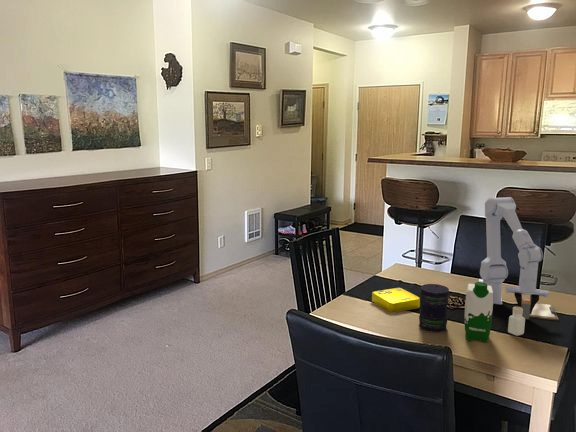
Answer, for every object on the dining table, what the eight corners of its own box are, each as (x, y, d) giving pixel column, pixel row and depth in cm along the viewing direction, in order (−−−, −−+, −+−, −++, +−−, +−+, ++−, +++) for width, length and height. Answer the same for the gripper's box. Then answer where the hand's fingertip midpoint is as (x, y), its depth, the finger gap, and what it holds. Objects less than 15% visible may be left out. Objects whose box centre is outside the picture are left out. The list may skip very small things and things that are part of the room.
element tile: (390, 314, 187) (391, 302, 187) (370, 301, 201) (370, 290, 200) (421, 308, 193) (422, 297, 192) (399, 296, 207) (400, 286, 206)
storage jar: (442, 335, 167) (445, 294, 165) (415, 329, 173) (417, 289, 170) (449, 325, 176) (452, 286, 173) (423, 319, 181) (425, 282, 178)
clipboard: (523, 316, 184) (523, 312, 184) (519, 302, 198) (520, 299, 198) (558, 320, 180) (559, 317, 179) (552, 306, 194) (552, 302, 194)
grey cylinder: (520, 318, 180) (521, 300, 179) (519, 315, 183) (521, 298, 182) (529, 319, 179) (530, 302, 178) (528, 316, 182) (530, 299, 181)
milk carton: (463, 340, 163) (467, 284, 160) (462, 329, 172) (466, 276, 168) (491, 344, 160) (495, 287, 157) (489, 333, 169) (493, 279, 165)
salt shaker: (516, 336, 166) (519, 310, 164) (507, 332, 170) (509, 307, 168) (524, 334, 168) (526, 308, 166) (514, 330, 171) (516, 305, 170)
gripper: (507, 279, 177) (504, 313, 180) (551, 283, 172) (547, 319, 174) (506, 273, 183) (503, 307, 186) (548, 278, 178) (545, 312, 181)
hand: (524, 312), depth 181 cm, fingers closed on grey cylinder, 3 cm apart
